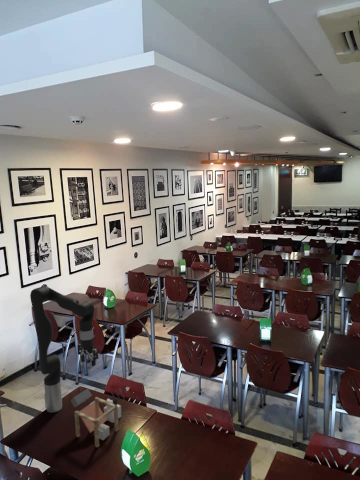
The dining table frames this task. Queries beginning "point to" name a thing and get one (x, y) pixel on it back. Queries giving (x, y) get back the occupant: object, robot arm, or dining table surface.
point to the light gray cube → (103, 431)
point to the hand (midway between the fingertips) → (88, 363)
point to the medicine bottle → (111, 416)
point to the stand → (95, 421)
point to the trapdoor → (88, 409)
